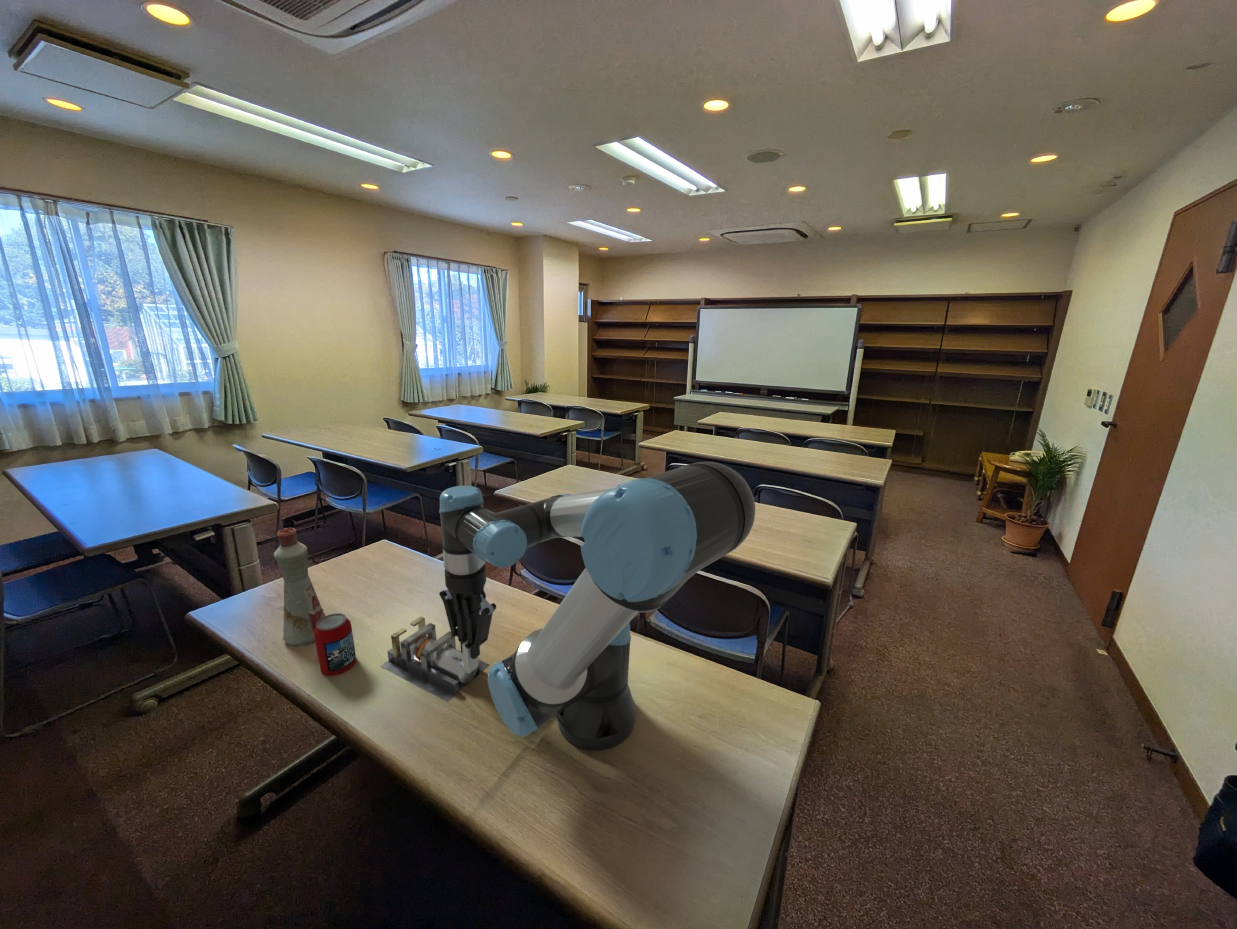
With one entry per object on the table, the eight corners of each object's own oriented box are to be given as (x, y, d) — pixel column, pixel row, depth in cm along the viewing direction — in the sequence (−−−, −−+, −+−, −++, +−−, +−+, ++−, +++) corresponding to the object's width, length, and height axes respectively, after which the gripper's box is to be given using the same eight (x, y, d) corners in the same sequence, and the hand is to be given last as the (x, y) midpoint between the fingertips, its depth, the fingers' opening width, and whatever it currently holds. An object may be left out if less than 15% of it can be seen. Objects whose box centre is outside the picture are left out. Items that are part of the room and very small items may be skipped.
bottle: (281, 634, 110) (259, 526, 102) (325, 620, 116) (307, 516, 108) (286, 653, 104) (264, 540, 96) (332, 637, 110) (315, 529, 102)
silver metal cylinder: (478, 675, 99) (478, 654, 98) (460, 688, 94) (460, 666, 93) (431, 653, 105) (431, 632, 104) (412, 664, 100) (412, 643, 99)
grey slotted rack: (489, 668, 102) (488, 636, 99) (447, 705, 91) (444, 671, 89) (425, 639, 110) (422, 609, 108) (380, 670, 100) (376, 637, 98)
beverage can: (340, 682, 96) (332, 633, 93) (313, 676, 98) (304, 627, 94) (364, 660, 103) (357, 613, 99) (337, 655, 104) (330, 609, 101)
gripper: (504, 566, 89) (508, 668, 96) (455, 549, 94) (461, 646, 101) (476, 584, 82) (482, 692, 89) (425, 565, 88) (434, 667, 95)
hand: (471, 668), depth 95 cm, fingers closed
